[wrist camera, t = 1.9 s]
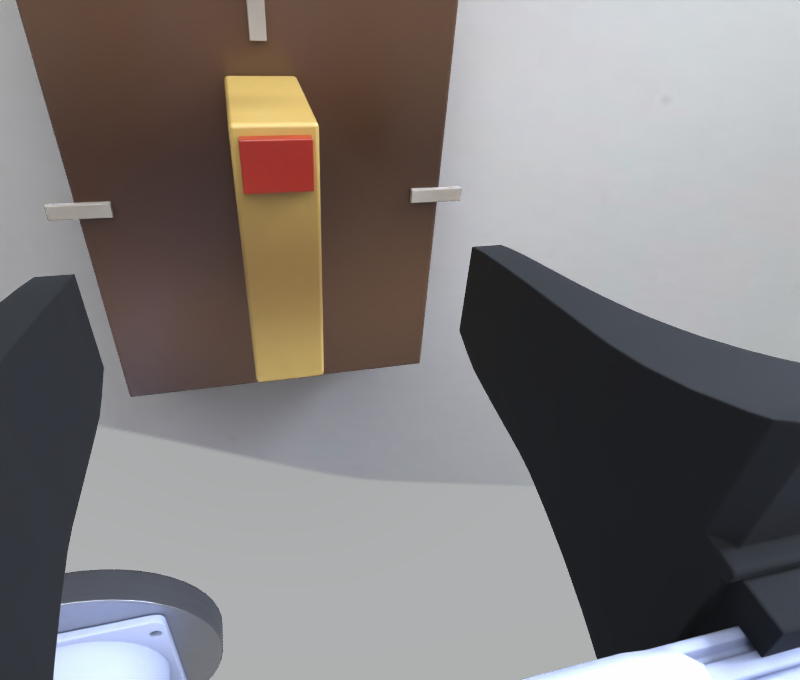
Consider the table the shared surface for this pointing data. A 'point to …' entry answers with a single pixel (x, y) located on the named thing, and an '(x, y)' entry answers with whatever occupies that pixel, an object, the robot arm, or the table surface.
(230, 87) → the handle
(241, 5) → the lock plate
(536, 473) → the robot arm
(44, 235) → the table surface
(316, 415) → the table surface
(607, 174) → the table surface
